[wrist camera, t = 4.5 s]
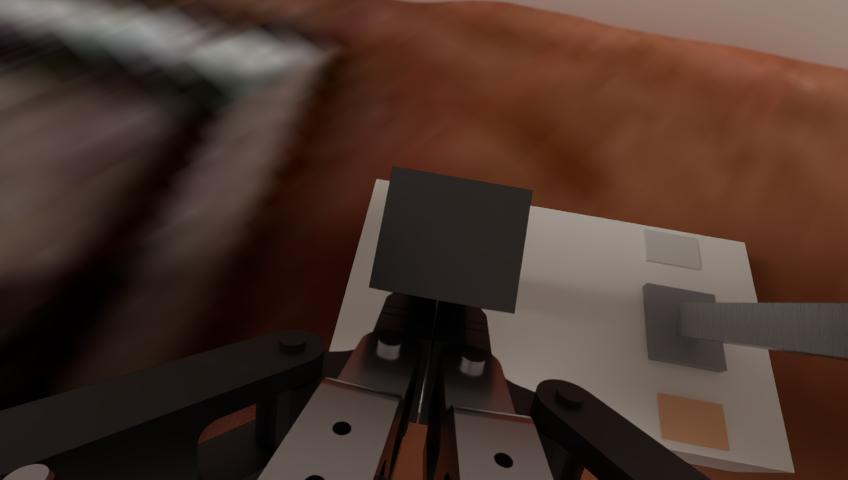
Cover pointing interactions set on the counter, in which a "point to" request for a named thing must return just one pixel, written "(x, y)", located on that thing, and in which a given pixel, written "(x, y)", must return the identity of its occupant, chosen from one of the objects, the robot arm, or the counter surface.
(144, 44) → the counter surface
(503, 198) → the lever
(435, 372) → the robot arm
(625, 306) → the switch unit
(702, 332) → the lever
